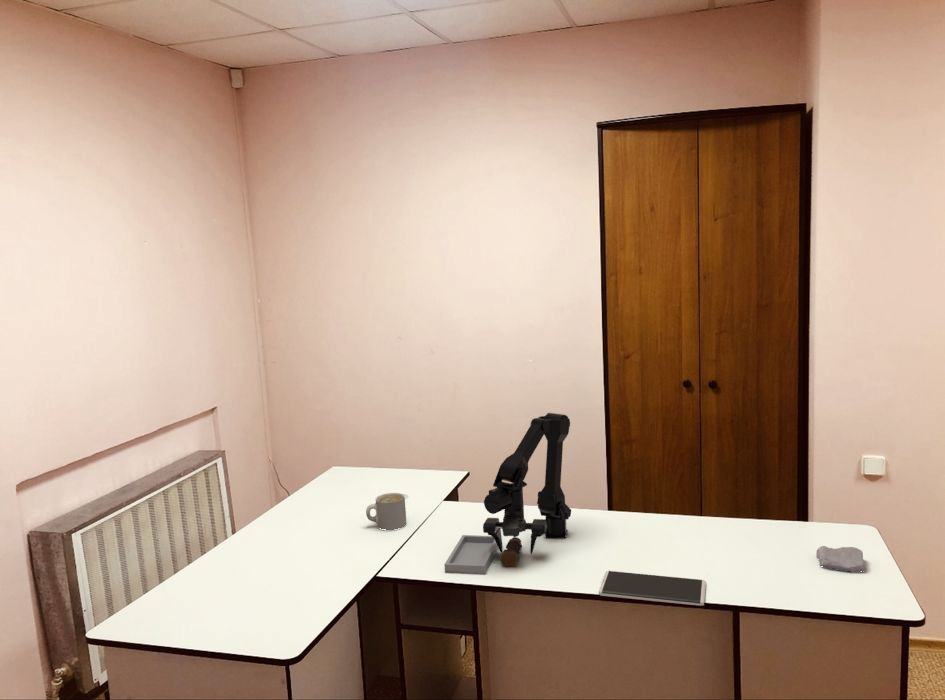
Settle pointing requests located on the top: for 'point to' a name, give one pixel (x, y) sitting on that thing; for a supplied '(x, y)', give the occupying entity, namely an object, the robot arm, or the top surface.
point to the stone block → (841, 558)
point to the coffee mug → (389, 511)
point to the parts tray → (471, 555)
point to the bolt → (511, 553)
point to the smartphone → (653, 588)
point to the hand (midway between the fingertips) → (516, 553)
